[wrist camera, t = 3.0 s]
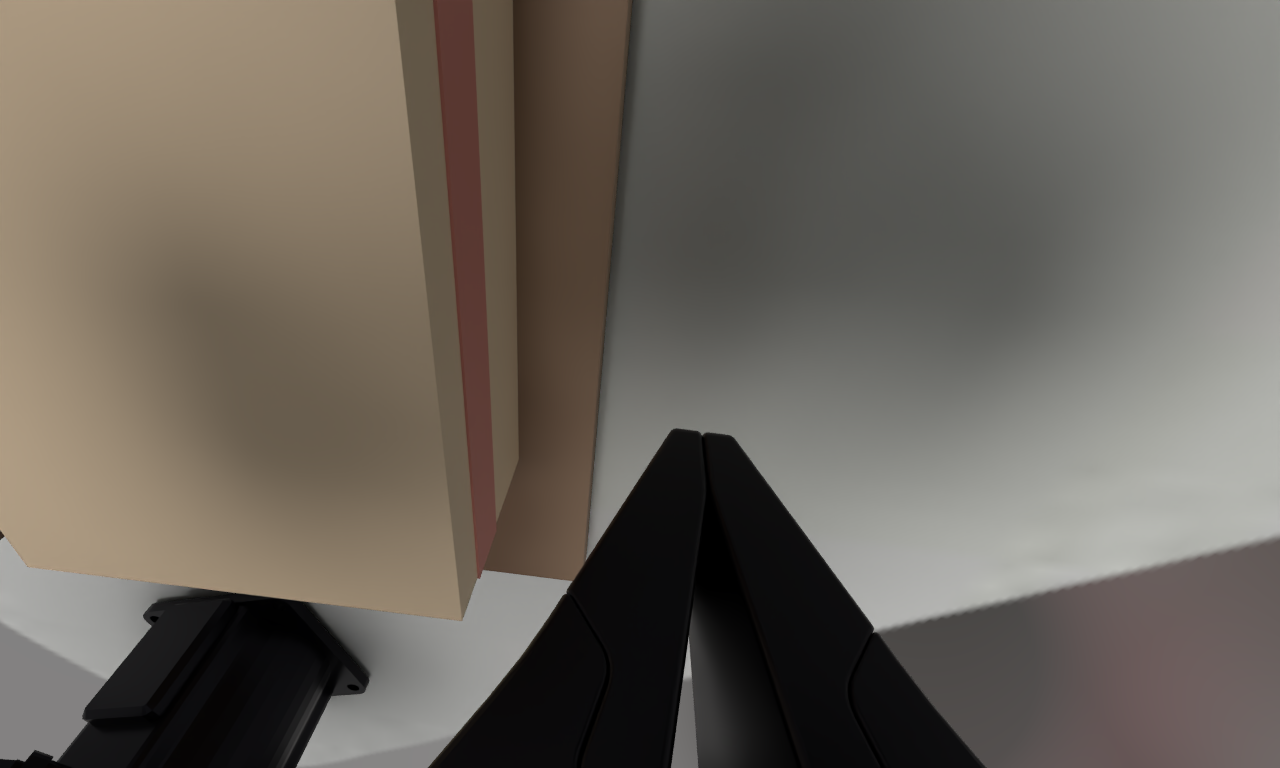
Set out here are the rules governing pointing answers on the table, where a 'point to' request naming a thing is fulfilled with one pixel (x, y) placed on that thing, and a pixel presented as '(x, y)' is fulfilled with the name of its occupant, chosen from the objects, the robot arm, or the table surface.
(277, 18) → the kraft carton
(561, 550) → the display board
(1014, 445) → the table surface
